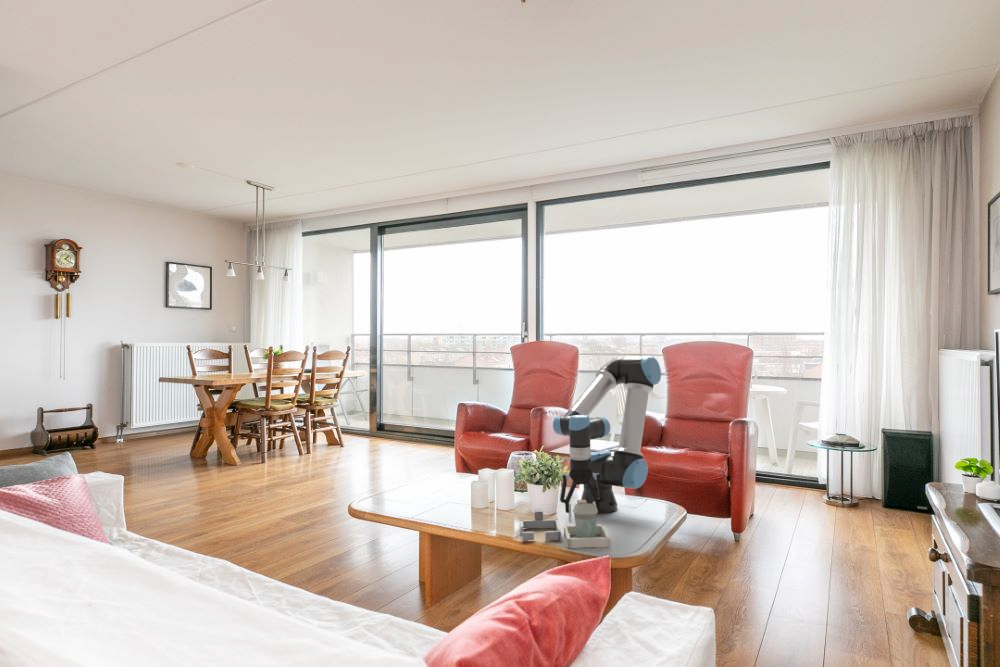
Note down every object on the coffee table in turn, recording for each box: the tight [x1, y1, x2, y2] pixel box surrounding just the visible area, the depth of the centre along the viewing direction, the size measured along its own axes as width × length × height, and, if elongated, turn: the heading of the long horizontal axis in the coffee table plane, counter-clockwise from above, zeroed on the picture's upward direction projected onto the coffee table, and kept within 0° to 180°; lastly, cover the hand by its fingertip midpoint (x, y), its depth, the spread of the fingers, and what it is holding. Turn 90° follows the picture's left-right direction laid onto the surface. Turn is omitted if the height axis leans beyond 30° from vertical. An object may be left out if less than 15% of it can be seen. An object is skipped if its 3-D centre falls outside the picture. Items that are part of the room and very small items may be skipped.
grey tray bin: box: [563, 499, 611, 549], centre depth 208 cm, size 19×14×11 cm
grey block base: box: [519, 508, 563, 542], centre depth 216 cm, size 19×14×6 cm
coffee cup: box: [572, 503, 599, 538], centre depth 206 cm, size 9×9×12 cm
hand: (582, 521), depth 216 cm, fingers open, 8 cm apart
